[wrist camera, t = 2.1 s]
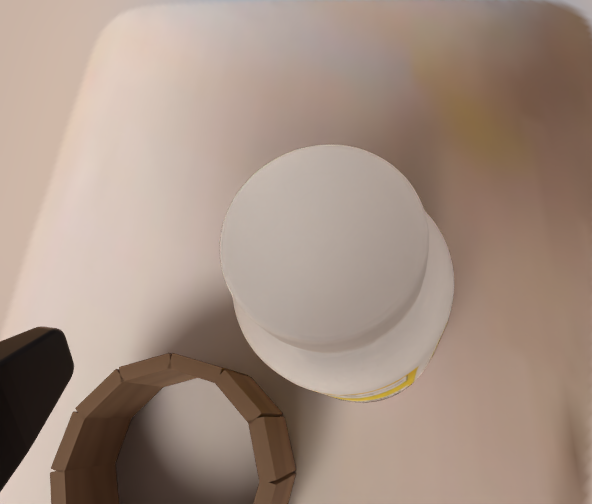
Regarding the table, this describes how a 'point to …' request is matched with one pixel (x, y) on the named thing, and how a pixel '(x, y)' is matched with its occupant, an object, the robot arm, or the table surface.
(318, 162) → the supplement bottle
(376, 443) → the table surface
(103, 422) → the holder
